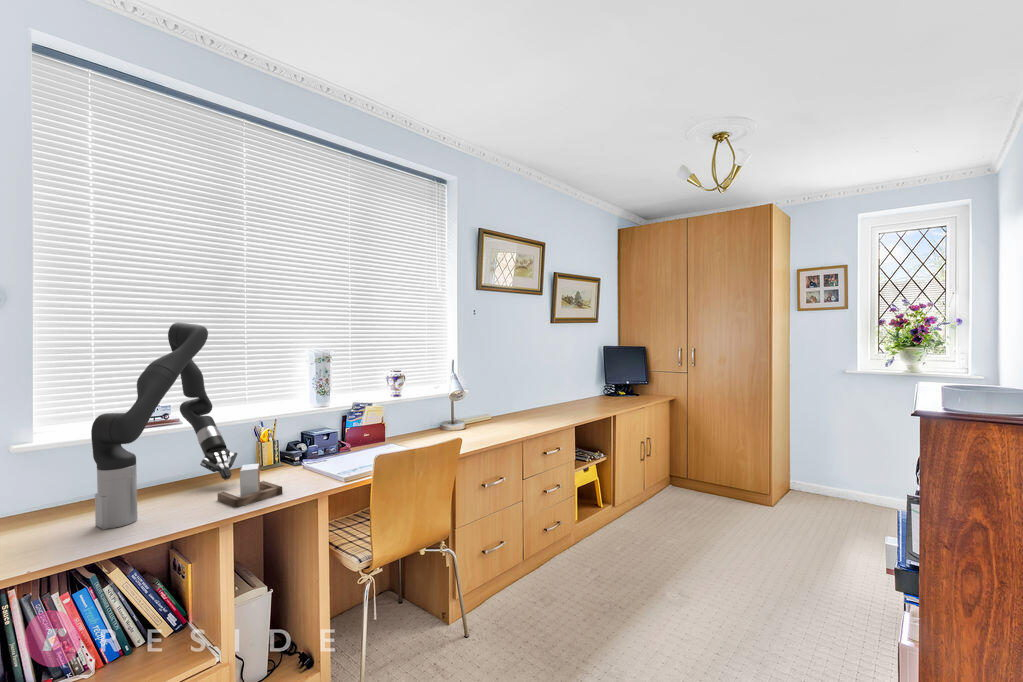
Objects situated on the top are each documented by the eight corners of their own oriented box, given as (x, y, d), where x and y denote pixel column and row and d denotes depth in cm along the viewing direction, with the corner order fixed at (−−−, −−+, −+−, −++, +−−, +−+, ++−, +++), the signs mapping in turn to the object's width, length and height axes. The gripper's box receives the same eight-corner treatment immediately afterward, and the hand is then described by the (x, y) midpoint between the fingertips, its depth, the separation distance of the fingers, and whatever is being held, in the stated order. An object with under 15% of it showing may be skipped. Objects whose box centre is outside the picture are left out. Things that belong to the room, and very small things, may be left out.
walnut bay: (236, 507, 158) (235, 500, 158) (217, 500, 164) (217, 493, 164) (282, 493, 171) (282, 486, 171) (263, 487, 178) (263, 480, 178)
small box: (258, 499, 166) (258, 468, 166) (240, 501, 164) (239, 470, 163) (260, 492, 173) (259, 462, 173) (242, 494, 171) (242, 464, 171)
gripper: (195, 438, 176) (211, 477, 169) (232, 431, 187) (249, 467, 180) (188, 450, 179) (205, 489, 172) (226, 443, 190) (242, 479, 183)
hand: (227, 478), depth 176 cm, fingers closed
